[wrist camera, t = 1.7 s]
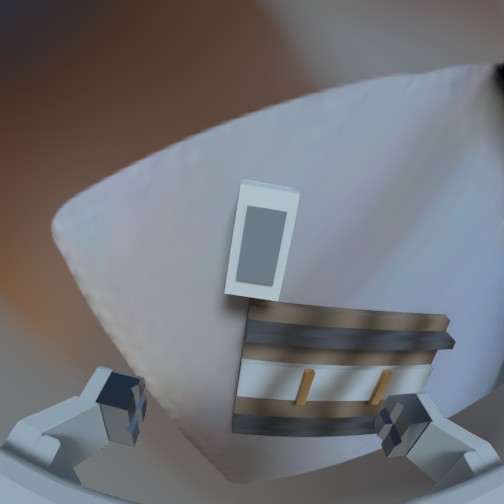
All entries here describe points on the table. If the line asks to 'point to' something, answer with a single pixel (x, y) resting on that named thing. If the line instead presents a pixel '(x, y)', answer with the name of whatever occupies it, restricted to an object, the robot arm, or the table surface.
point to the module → (261, 239)
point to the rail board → (329, 367)
